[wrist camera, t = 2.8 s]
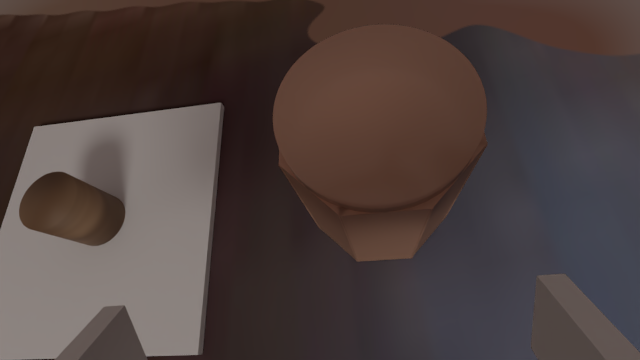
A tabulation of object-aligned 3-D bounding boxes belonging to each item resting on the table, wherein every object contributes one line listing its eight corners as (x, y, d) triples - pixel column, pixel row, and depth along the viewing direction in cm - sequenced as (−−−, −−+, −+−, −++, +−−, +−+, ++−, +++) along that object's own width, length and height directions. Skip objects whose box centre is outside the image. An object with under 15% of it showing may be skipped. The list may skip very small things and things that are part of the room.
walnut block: (129, 193, 26) (82, 168, 22) (120, 244, 25) (67, 227, 21) (83, 197, 27) (29, 174, 23) (71, 247, 25) (10, 232, 21)
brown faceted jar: (430, 139, 24) (464, 9, 14) (451, 256, 21) (512, 194, 11) (316, 151, 26) (274, 39, 16) (320, 264, 22) (269, 214, 12)
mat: (224, 106, 28) (221, 102, 28) (202, 353, 21) (197, 354, 21) (40, 130, 31) (34, 126, 30) (-34, 360, 24) (-43, 361, 23)
